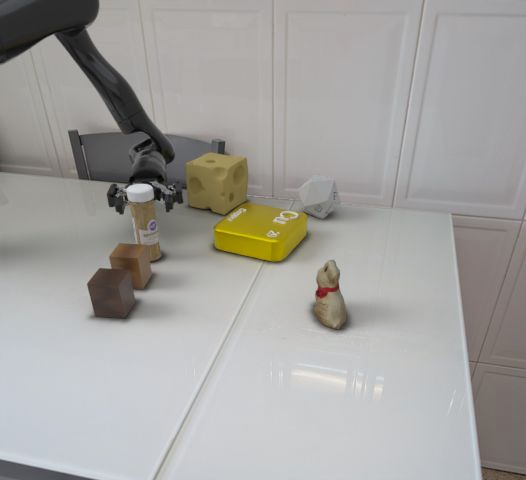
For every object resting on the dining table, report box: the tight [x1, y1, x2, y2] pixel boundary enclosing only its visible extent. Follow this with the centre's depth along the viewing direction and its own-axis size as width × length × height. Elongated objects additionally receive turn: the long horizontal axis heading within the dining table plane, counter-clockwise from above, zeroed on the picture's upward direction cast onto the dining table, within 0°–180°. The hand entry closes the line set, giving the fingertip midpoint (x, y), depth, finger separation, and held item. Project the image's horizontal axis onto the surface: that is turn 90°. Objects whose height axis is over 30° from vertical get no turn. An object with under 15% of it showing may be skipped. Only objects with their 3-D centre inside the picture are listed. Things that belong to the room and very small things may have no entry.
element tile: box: [213, 202, 308, 263], centre depth 99 cm, size 15×15×5 cm
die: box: [297, 173, 342, 220], centre depth 108 cm, size 8×9×10 cm
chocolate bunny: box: [314, 259, 347, 330], centre depth 76 cm, size 6×8×10 cm
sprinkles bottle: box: [127, 184, 163, 262], centre depth 90 cm, size 5×5×13 cm
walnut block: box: [86, 267, 136, 320], centre depth 79 cm, size 5×5×6 cm
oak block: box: [108, 242, 153, 290], centre depth 86 cm, size 5×5×6 cm
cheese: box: [184, 151, 249, 216], centre depth 112 cm, size 10×11×10 cm
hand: (144, 208), depth 91 cm, fingers open, 8 cm apart
